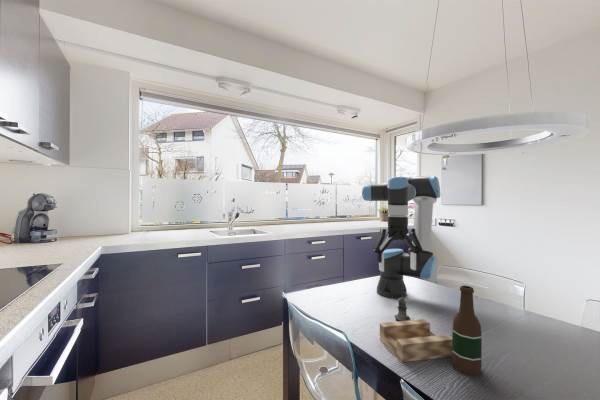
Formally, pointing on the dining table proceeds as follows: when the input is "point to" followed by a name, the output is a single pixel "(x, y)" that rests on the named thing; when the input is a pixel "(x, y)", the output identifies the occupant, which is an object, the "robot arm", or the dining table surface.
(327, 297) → the dining table surface
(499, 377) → the dining table surface
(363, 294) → the dining table surface
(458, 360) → the beer bottle
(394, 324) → the well block
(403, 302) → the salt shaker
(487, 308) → the dining table surface
